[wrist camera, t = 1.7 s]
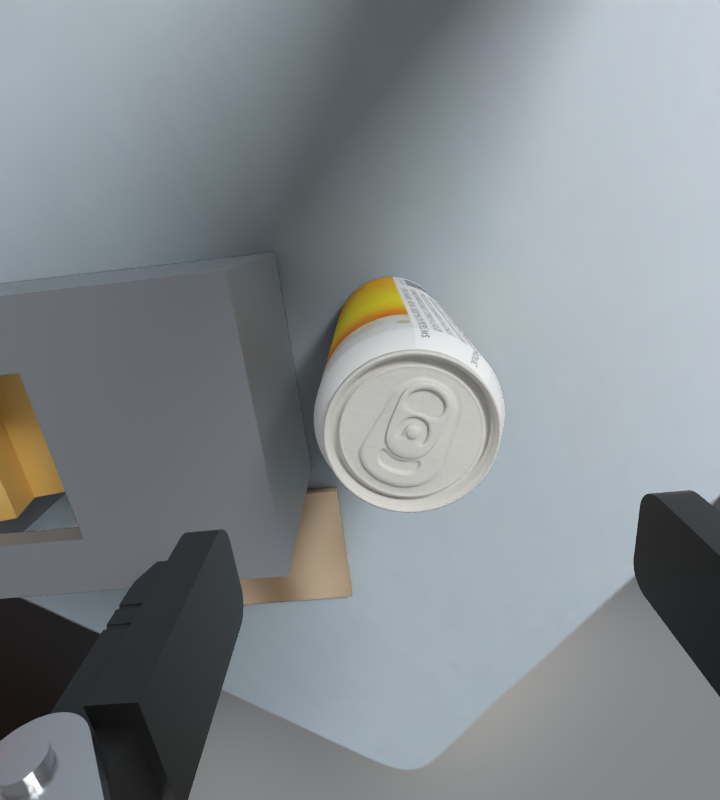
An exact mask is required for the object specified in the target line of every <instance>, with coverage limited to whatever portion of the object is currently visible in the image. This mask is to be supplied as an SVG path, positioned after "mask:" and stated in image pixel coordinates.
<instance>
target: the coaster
mask: <svg viewBox="0 0 720 800" xmlns="http://www.w3.org/2000/svg"><path fill="white" fill-rule="evenodd" d="M240 584H241V588H242V593H243V605H245V604H258V603H271V602H284V601H297V600H310V599H323V598H336V597H349V596H352V587H351V581H350V574H349V567H348V560H347V554H346V547H345V540H344V533H343V526H342V520H341V513H340V506H339V499H338V493H337V487H334V488H322V489H311V490H307V493H306V498H305V502H304V507H303V511H302V516H301V520H300V525H299V530H298V534H297V539H296V543H295V548H294V552H293V557H292V562H291V566H290V571H289V575H288V576H281V577H268V578H256V579H243V580H240Z"/></svg>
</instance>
